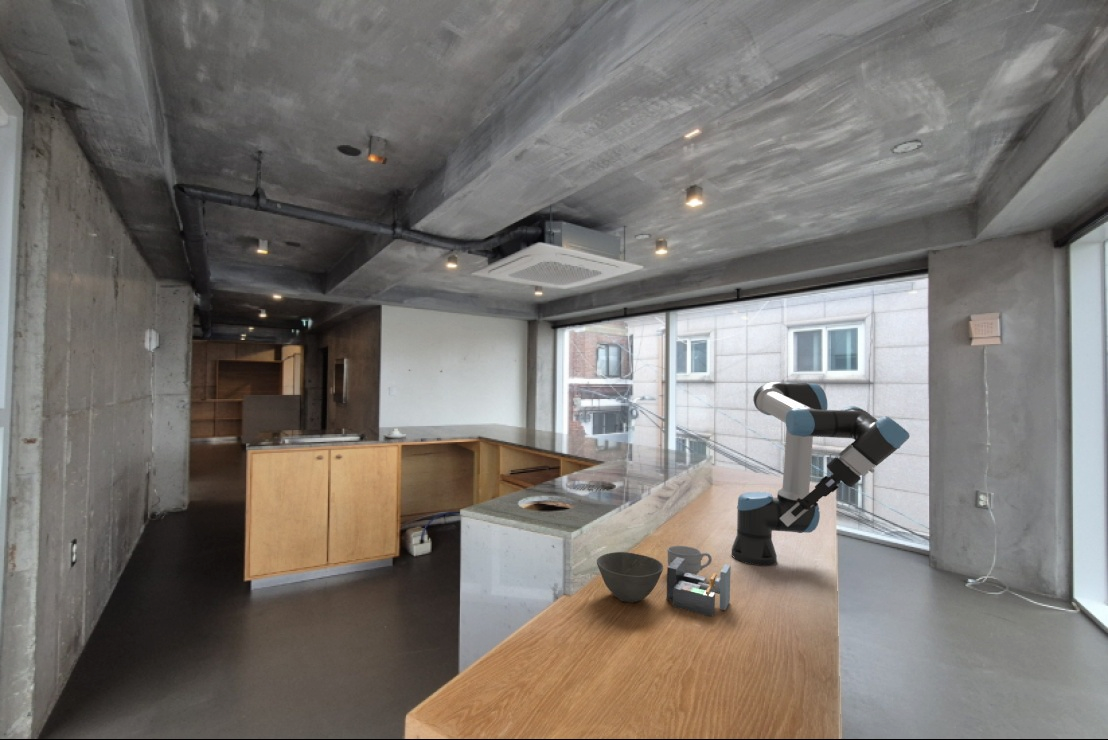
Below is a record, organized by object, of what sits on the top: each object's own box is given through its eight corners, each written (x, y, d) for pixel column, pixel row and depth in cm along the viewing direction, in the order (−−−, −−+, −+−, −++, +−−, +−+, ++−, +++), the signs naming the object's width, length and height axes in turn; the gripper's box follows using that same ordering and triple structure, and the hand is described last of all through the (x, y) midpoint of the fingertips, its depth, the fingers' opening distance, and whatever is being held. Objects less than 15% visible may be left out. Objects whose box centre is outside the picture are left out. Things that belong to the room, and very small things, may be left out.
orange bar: (713, 580, 135) (713, 572, 135) (716, 581, 134) (716, 573, 135) (705, 594, 125) (705, 586, 125) (708, 595, 125) (708, 586, 125)
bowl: (674, 598, 134) (675, 563, 135) (638, 621, 120) (639, 581, 121) (620, 579, 147) (621, 546, 147) (582, 596, 133) (583, 561, 134)
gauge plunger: (701, 593, 137) (702, 559, 138) (729, 600, 133) (730, 565, 134) (695, 602, 131) (696, 566, 132) (725, 610, 127) (726, 572, 128)
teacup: (664, 577, 150) (665, 551, 150) (669, 565, 160) (669, 541, 160) (710, 585, 145) (710, 559, 145) (712, 573, 155) (712, 548, 155)
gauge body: (676, 587, 142) (676, 557, 143) (721, 598, 136) (722, 566, 136) (662, 603, 131) (663, 571, 131) (711, 616, 124) (712, 582, 124)
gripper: (861, 480, 109) (792, 537, 115) (863, 475, 129) (805, 524, 135) (833, 456, 113) (768, 512, 119) (840, 455, 133) (784, 504, 139)
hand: (787, 519), depth 127 cm, fingers open, 13 cm apart
